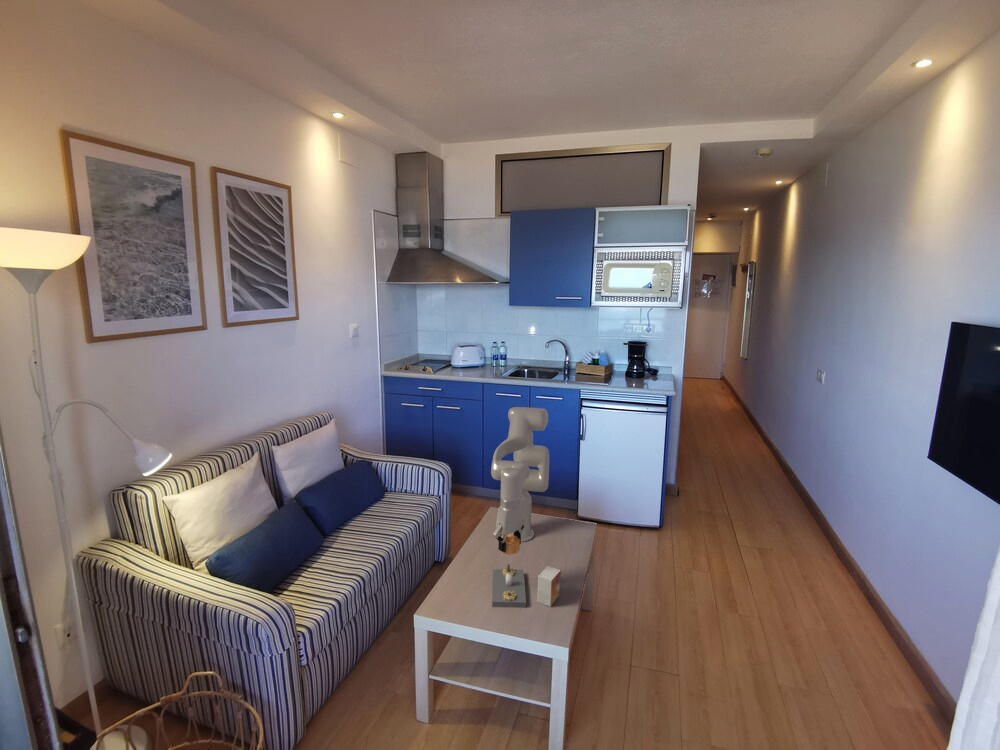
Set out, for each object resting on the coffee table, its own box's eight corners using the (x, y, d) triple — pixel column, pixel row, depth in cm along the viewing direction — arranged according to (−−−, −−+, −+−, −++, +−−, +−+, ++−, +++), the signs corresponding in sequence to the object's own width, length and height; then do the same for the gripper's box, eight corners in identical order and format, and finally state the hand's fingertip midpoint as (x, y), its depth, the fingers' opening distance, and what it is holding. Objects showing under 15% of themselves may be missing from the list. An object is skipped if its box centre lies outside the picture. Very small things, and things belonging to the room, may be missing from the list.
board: (493, 573, 194) (493, 559, 193) (523, 574, 194) (523, 560, 193) (492, 606, 175) (492, 591, 173) (525, 607, 175) (526, 592, 173)
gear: (495, 549, 181) (495, 539, 180) (509, 542, 186) (509, 532, 185) (509, 557, 176) (510, 547, 175) (523, 549, 181) (523, 539, 180)
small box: (550, 607, 175) (551, 581, 173) (536, 602, 178) (537, 575, 176) (560, 595, 182) (561, 570, 179) (546, 590, 184) (547, 565, 182)
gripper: (519, 492, 186) (518, 535, 190) (486, 505, 174) (485, 551, 177) (534, 498, 181) (532, 542, 184) (501, 513, 169) (500, 560, 172)
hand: (509, 546), depth 181 cm, fingers closed on gear, 7 cm apart
